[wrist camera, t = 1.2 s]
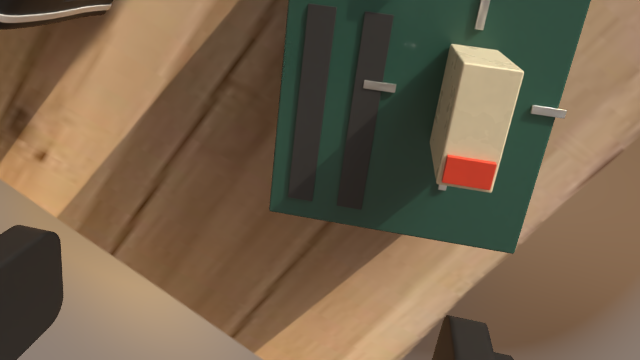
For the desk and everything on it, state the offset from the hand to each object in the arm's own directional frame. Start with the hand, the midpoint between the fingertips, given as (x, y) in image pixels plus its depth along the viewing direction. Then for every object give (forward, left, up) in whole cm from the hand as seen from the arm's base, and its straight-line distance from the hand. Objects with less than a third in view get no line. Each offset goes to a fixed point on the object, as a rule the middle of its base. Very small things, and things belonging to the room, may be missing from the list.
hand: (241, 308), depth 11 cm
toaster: (-1, +3, -25) cm, 26 cm away
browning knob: (-2, +5, -14) cm, 15 cm away
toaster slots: (-1, 0, -14) cm, 14 cm away
